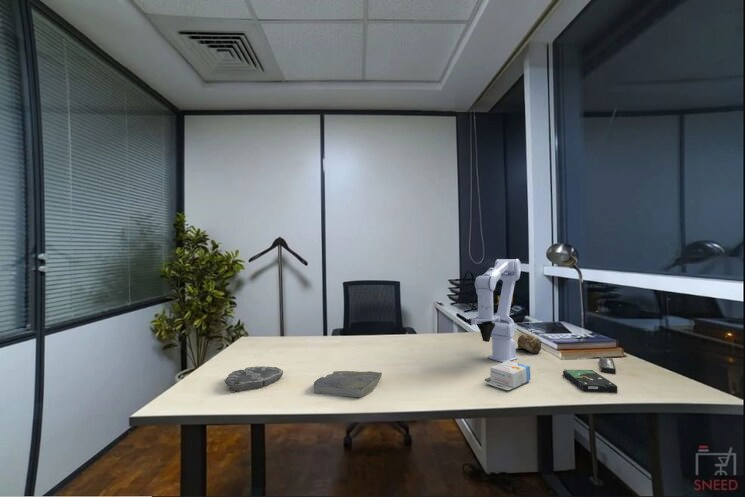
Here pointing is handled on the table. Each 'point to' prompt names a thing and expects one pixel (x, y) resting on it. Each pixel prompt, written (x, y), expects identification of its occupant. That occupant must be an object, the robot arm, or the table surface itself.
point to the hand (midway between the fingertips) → (486, 341)
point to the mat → (515, 387)
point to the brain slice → (253, 378)
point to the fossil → (347, 383)
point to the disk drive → (590, 381)
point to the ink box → (509, 375)
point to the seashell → (529, 343)
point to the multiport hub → (607, 365)
